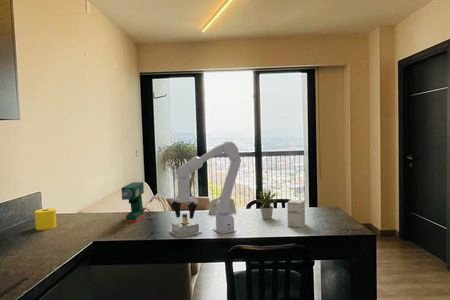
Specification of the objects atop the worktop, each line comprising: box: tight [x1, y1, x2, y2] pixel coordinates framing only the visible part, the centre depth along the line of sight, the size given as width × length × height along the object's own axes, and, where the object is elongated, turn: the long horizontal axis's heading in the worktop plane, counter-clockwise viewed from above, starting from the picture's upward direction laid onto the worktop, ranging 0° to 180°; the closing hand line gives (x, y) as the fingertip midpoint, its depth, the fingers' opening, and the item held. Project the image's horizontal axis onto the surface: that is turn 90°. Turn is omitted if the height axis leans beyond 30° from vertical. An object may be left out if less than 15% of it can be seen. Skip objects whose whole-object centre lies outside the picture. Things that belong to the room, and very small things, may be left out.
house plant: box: [255, 188, 280, 220], centre depth 193 cm, size 14×14×16 cm
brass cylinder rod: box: [181, 213, 188, 225], centre depth 170 cm, size 2×2×8 cm
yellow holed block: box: [34, 207, 57, 231], centre depth 189 cm, size 10×10×9 cm
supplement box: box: [287, 199, 306, 228], centre depth 177 cm, size 7×7×13 cm
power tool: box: [121, 181, 146, 223], centre depth 197 cm, size 32×7×20 cm, turn 179°
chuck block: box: [168, 219, 203, 238], centre depth 170 cm, size 12×12×4 cm
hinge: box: [208, 197, 237, 216], centre depth 212 cm, size 17×5×10 cm, turn 101°
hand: (184, 217), depth 170 cm, fingers open, 7 cm apart
